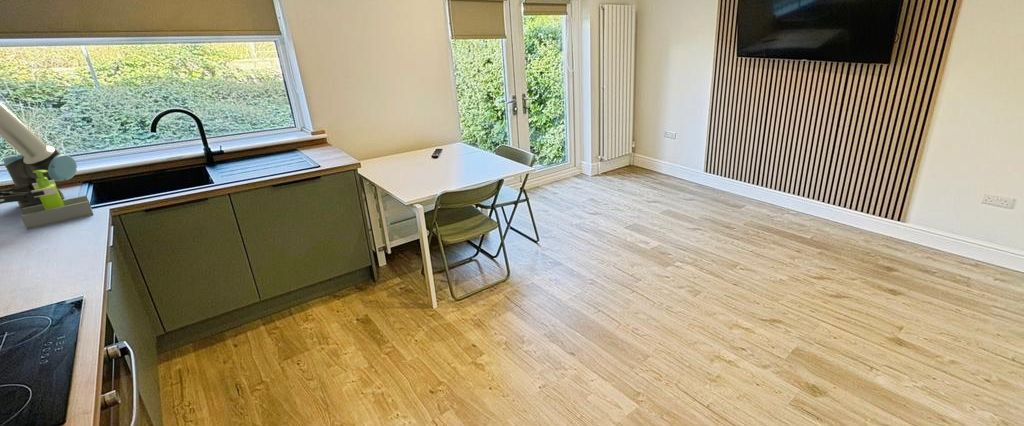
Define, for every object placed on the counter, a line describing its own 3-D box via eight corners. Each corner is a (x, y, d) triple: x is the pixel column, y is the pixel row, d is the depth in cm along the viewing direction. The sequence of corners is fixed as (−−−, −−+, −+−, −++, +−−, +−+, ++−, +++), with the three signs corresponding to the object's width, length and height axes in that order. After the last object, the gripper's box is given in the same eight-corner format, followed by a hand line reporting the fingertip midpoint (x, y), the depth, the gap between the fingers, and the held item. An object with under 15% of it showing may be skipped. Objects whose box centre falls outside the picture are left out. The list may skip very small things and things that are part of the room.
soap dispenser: (58, 219, 185) (36, 172, 177) (45, 218, 186) (23, 172, 179) (74, 213, 190) (53, 168, 183) (61, 213, 192) (40, 168, 184)
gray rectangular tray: (28, 221, 187) (21, 208, 184) (91, 208, 199) (86, 195, 197) (27, 229, 179) (20, 216, 176) (93, 214, 191) (87, 201, 189)
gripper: (-13, 202, 182) (58, 188, 195) (-19, 218, 165) (59, 201, 178) (-22, 184, 179) (51, 171, 192) (-30, 198, 162) (51, 183, 175)
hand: (55, 186), depth 185 cm, fingers open, 13 cm apart
